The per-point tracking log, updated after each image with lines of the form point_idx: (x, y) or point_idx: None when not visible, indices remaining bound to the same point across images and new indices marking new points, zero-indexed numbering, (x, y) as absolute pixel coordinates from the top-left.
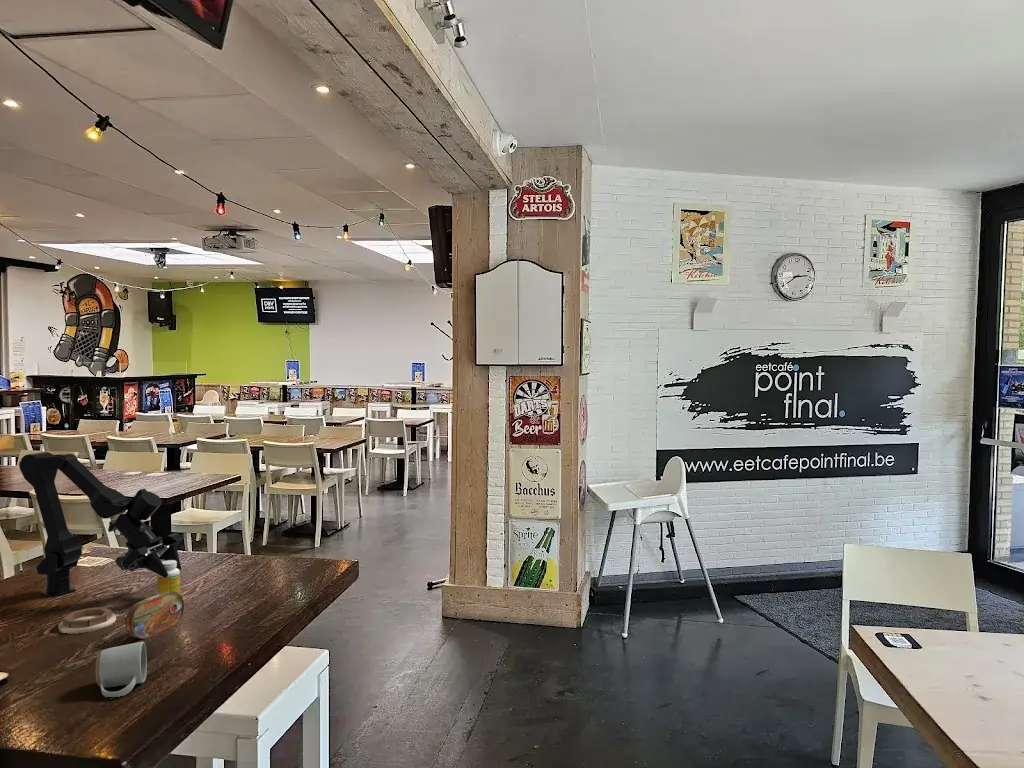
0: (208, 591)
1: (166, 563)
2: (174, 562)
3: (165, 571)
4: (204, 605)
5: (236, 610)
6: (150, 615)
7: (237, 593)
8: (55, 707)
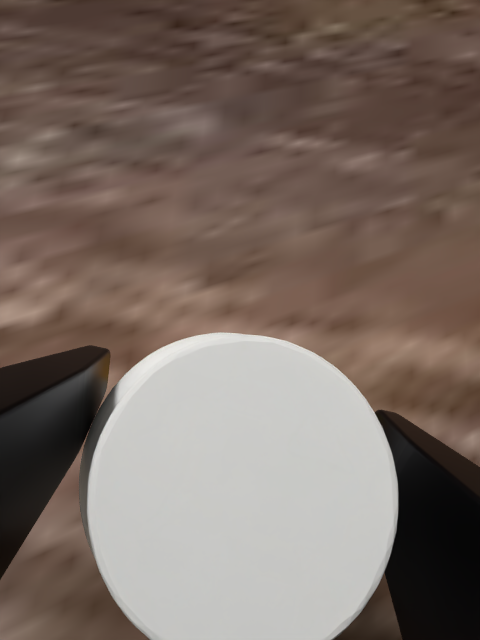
0: (85, 219)
1: (356, 480)
2: (283, 348)
3: (429, 438)
4: (374, 167)
5: (442, 7)
6: None
7: (159, 44)
8: None
